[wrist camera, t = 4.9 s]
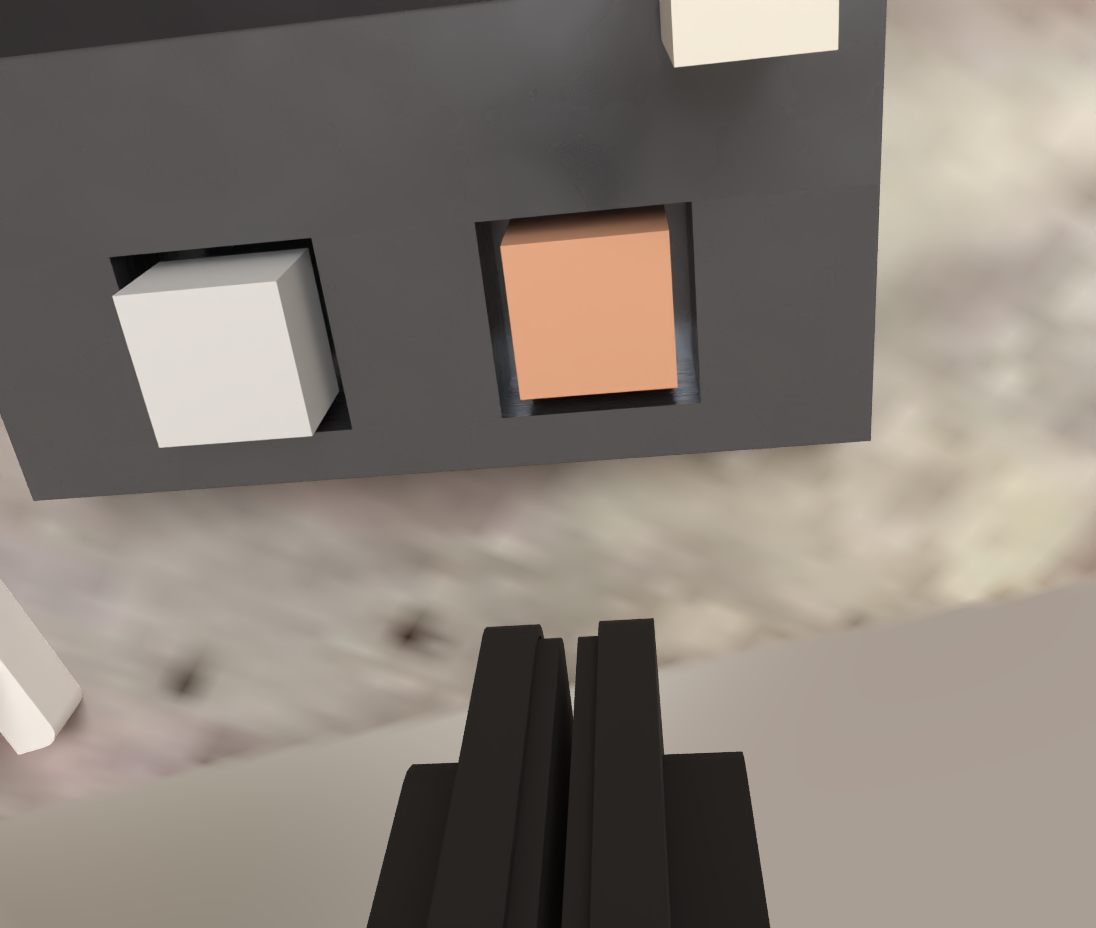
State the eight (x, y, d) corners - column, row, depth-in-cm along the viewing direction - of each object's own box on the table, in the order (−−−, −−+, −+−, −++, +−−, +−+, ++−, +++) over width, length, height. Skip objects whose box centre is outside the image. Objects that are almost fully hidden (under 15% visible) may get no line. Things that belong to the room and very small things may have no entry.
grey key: (307, 247, 23) (276, 281, 21) (339, 391, 25) (312, 436, 22) (159, 261, 23) (112, 296, 21) (199, 402, 25) (159, 447, 23)
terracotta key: (663, 202, 23) (669, 230, 21) (671, 346, 25) (677, 387, 23) (510, 216, 24) (499, 246, 21) (528, 358, 25) (520, 400, 23)
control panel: (854, -284, 20) (900, -324, 17) (839, 380, 26) (871, 442, 23) (-103, -150, 22) (-225, -164, 19) (97, 438, 28) (31, 502, 25)
